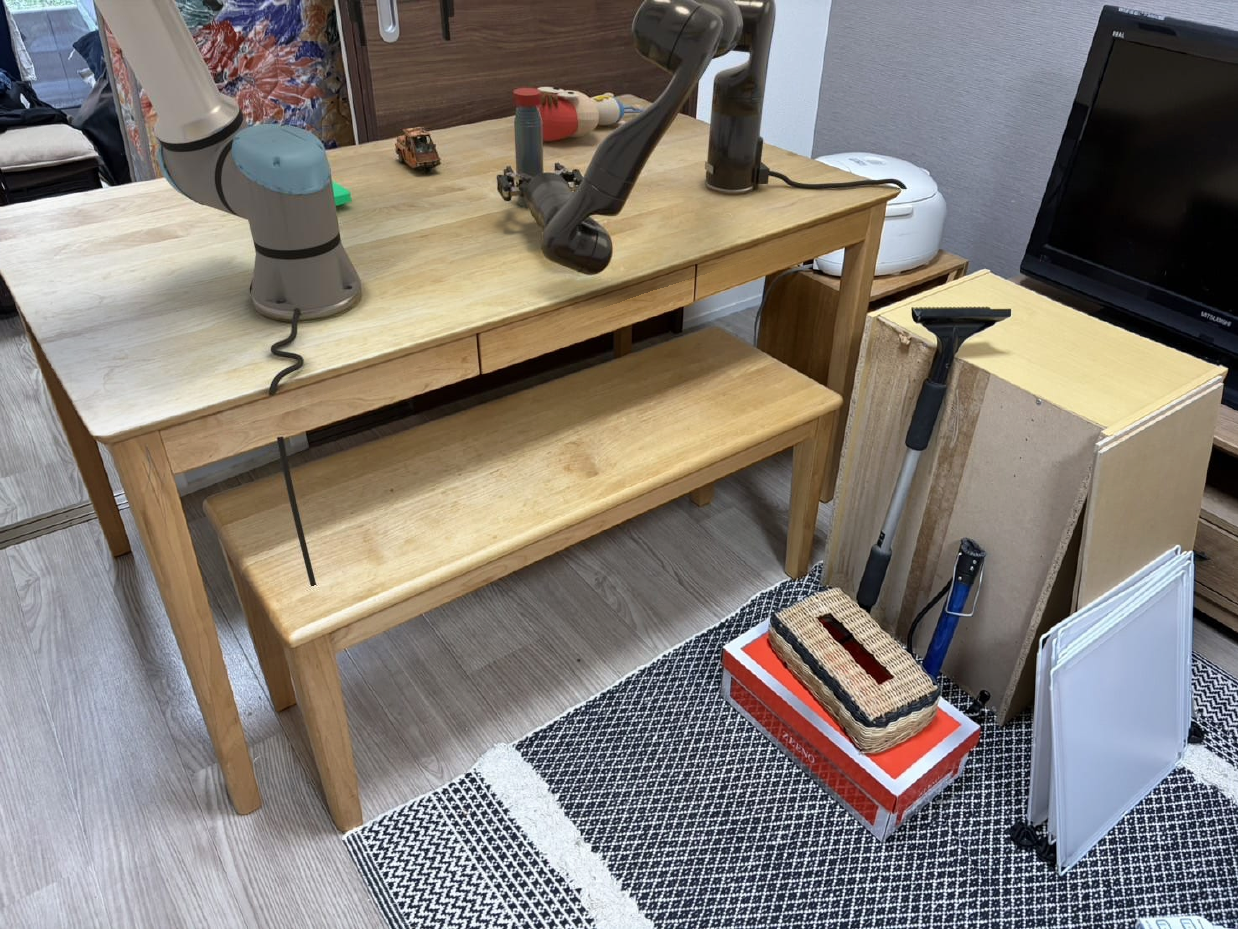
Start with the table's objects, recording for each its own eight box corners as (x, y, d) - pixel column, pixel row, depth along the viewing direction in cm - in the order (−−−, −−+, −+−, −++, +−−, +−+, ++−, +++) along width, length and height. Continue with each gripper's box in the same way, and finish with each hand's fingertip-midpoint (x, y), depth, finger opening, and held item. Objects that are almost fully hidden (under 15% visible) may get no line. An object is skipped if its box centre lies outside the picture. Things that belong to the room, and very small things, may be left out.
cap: (545, 105, 156) (545, 93, 154) (518, 108, 154) (518, 96, 153) (536, 97, 159) (535, 86, 158) (509, 100, 157) (509, 89, 156)
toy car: (418, 153, 186) (414, 118, 181) (449, 170, 178) (446, 134, 174) (389, 159, 182) (385, 123, 178) (419, 177, 175) (416, 140, 171)
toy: (674, 93, 197) (551, 94, 182) (670, 142, 202) (549, 147, 187) (627, 81, 210) (509, 80, 195) (624, 127, 215) (508, 131, 200)
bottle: (548, 205, 166) (545, 96, 155) (522, 208, 164) (518, 99, 153) (538, 195, 169) (535, 88, 158) (513, 199, 168) (508, 91, 156)
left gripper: (465, -117, 143) (475, 31, 156) (298, -114, 136) (323, 40, 149) (476, -111, 138) (485, 41, 151) (302, -108, 131) (328, 52, 144)
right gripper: (595, 178, 148) (572, 145, 161) (507, 184, 145) (490, 150, 157) (595, 222, 153) (572, 187, 165) (510, 230, 149) (493, 193, 162)
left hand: (404, 41), depth 150 cm, fingers open, 13 cm apart
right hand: (532, 169), depth 161 cm, fingers open, 8 cm apart
